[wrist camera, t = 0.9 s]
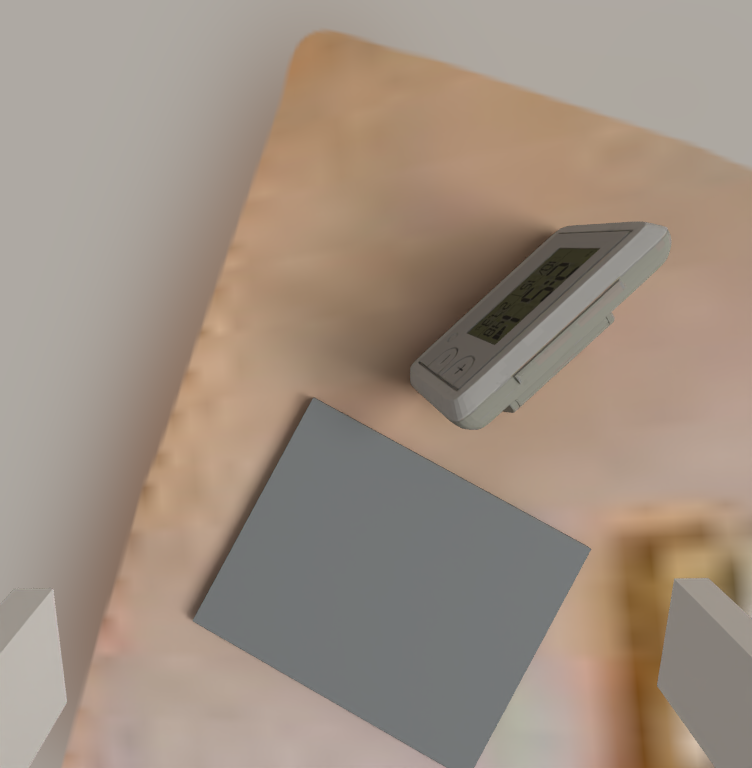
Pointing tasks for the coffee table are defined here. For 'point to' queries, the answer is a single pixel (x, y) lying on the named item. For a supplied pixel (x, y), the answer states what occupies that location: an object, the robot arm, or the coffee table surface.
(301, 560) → the mat
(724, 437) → the coffee table surface
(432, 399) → the digital clock
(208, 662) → the coffee table surface
